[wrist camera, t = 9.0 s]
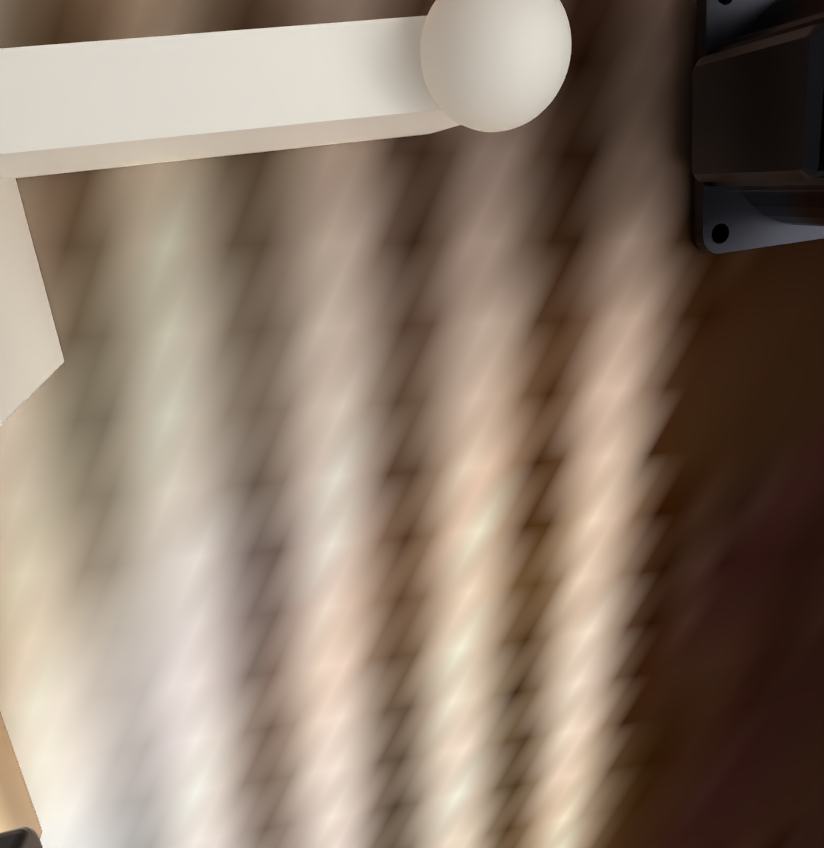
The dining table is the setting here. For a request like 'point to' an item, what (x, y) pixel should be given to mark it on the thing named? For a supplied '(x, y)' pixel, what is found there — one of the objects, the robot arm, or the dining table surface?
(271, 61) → the headboard
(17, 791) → the rail
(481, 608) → the dining table surface
